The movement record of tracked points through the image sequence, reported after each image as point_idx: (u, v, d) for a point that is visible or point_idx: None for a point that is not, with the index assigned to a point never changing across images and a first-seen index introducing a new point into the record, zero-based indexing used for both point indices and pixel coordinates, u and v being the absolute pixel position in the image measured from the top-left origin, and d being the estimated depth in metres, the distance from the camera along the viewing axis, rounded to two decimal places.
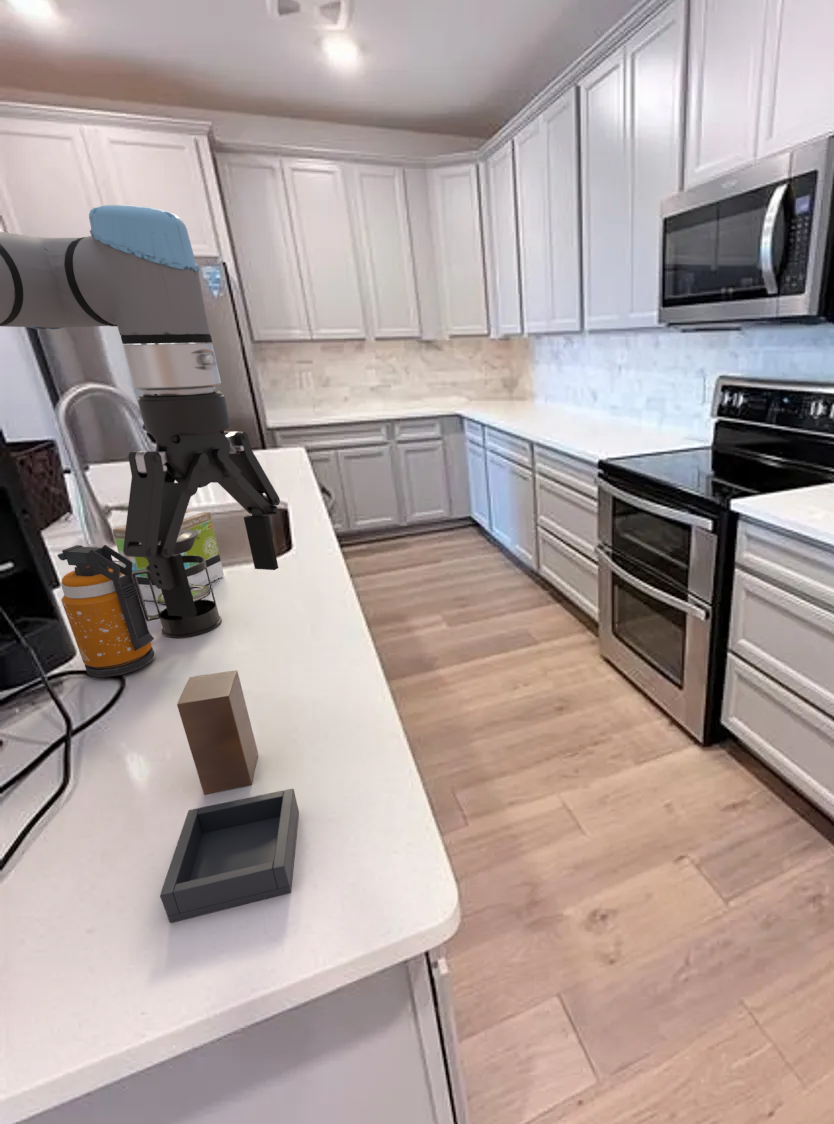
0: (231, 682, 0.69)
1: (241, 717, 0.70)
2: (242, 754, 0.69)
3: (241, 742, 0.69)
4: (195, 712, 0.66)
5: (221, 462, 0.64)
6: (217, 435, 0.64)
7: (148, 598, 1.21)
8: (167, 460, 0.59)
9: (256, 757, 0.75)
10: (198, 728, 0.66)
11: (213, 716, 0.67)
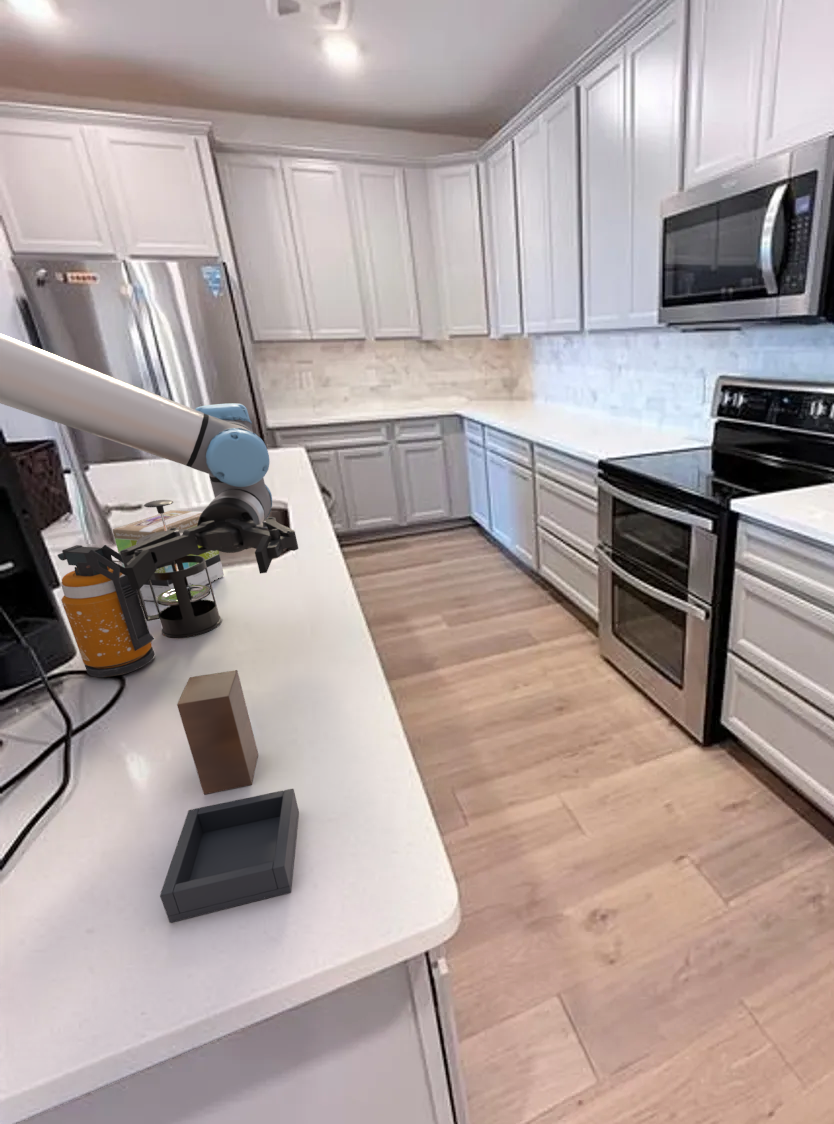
0: (231, 682, 0.69)
1: (241, 717, 0.70)
2: (242, 754, 0.69)
3: (241, 742, 0.69)
4: (195, 712, 0.66)
5: (216, 549, 0.85)
6: None
7: (148, 598, 1.21)
8: None
9: (256, 757, 0.75)
10: (198, 728, 0.66)
11: (213, 716, 0.67)
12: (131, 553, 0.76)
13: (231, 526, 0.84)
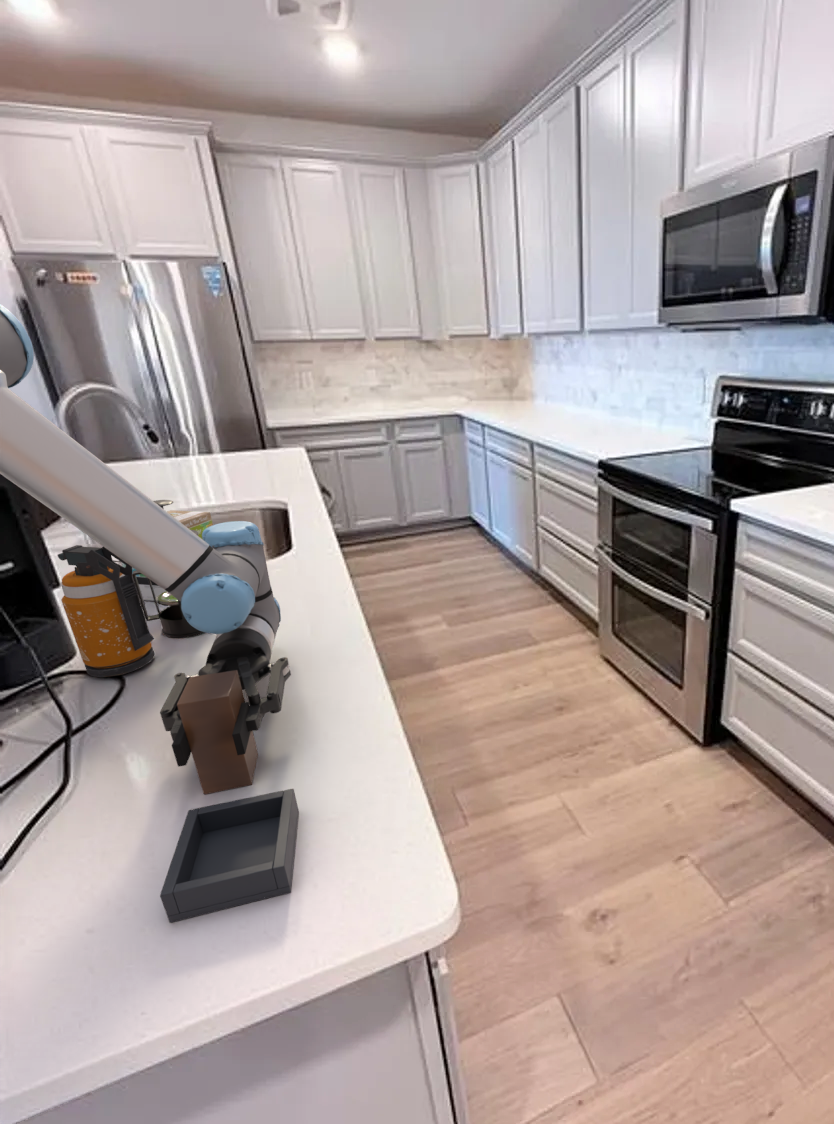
0: (231, 682, 0.69)
1: None
2: None
3: None
4: (195, 712, 0.66)
5: None
6: None
7: (148, 598, 1.21)
8: (268, 672, 0.81)
9: (256, 757, 0.75)
10: (198, 728, 0.66)
11: (213, 716, 0.67)
12: (172, 713, 0.70)
13: None
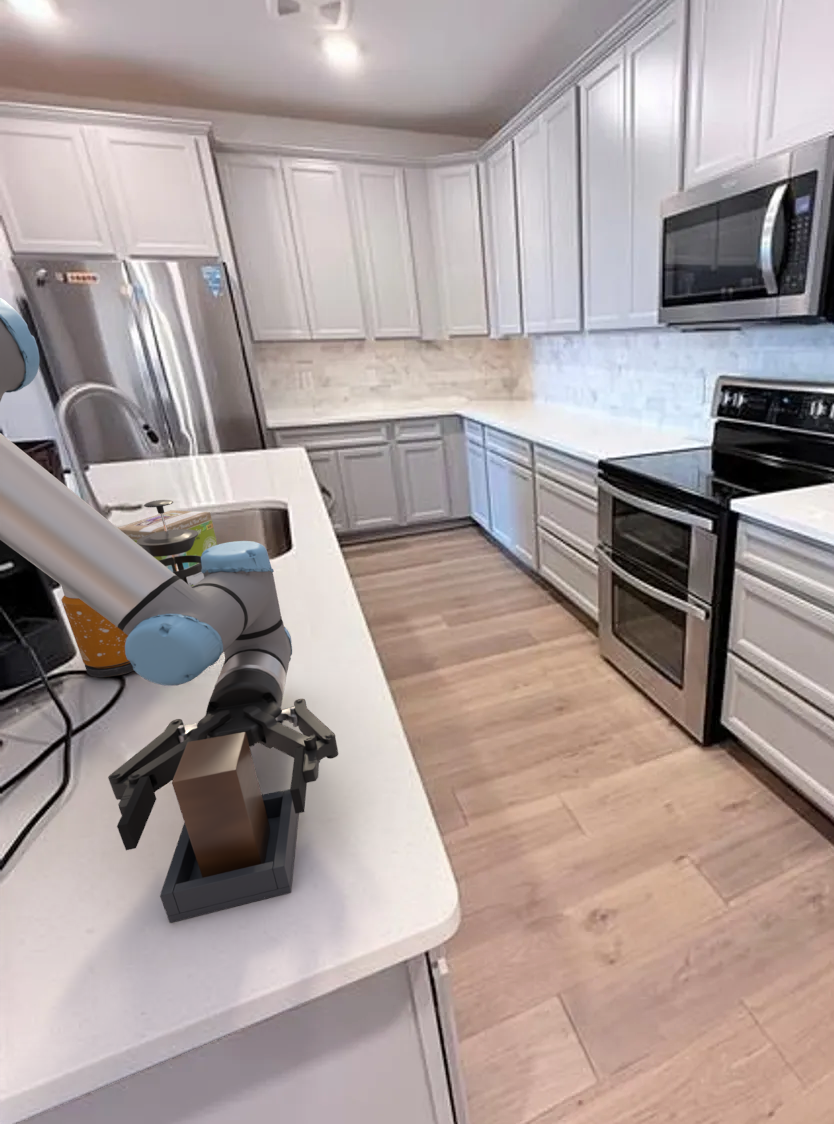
0: (239, 749, 0.56)
1: (251, 790, 0.58)
2: (252, 838, 0.56)
3: (251, 823, 0.56)
4: (194, 790, 0.53)
5: None
6: None
7: None
8: (283, 720, 0.69)
9: (268, 833, 0.62)
10: (198, 810, 0.54)
11: (216, 795, 0.54)
12: (123, 778, 0.58)
13: (251, 719, 0.66)
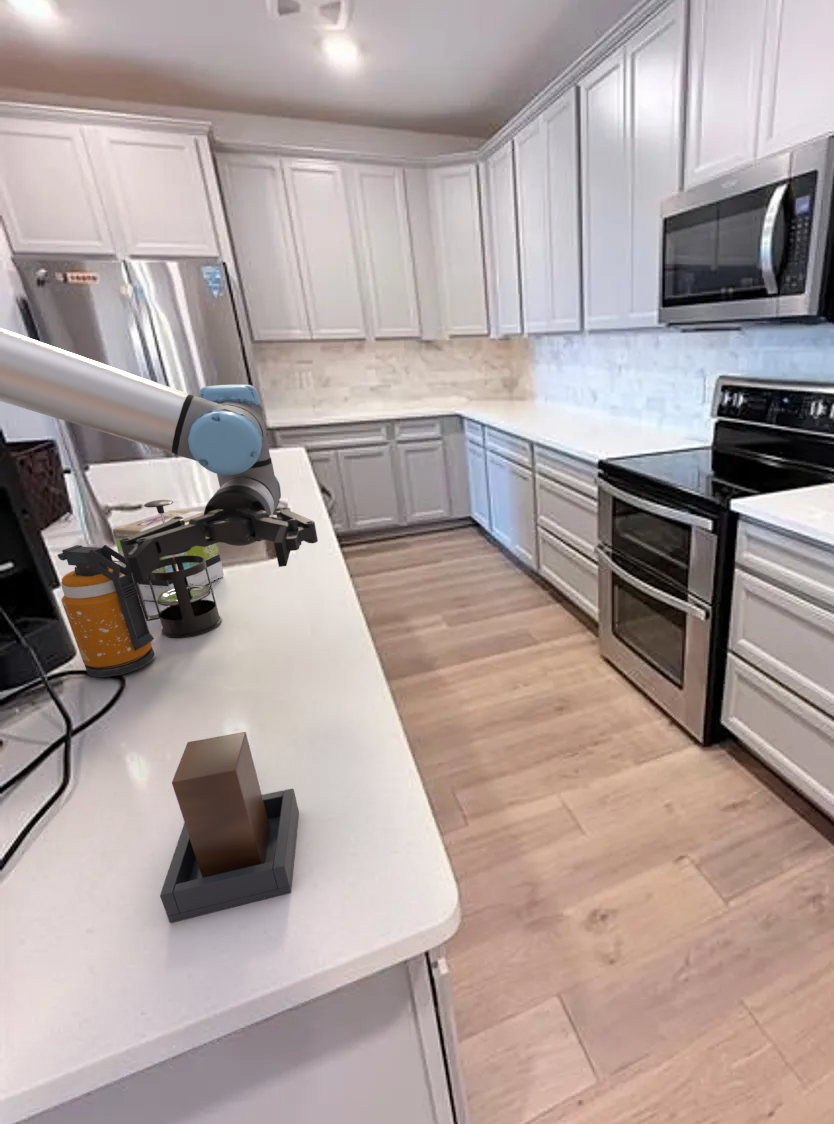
0: (239, 749, 0.56)
1: (251, 790, 0.58)
2: (252, 838, 0.56)
3: (251, 823, 0.56)
4: (194, 790, 0.53)
5: (225, 541, 0.77)
6: None
7: (148, 598, 1.21)
8: None
9: (268, 833, 0.62)
10: (198, 810, 0.54)
11: (216, 795, 0.54)
12: (132, 542, 0.68)
13: (242, 516, 0.76)
